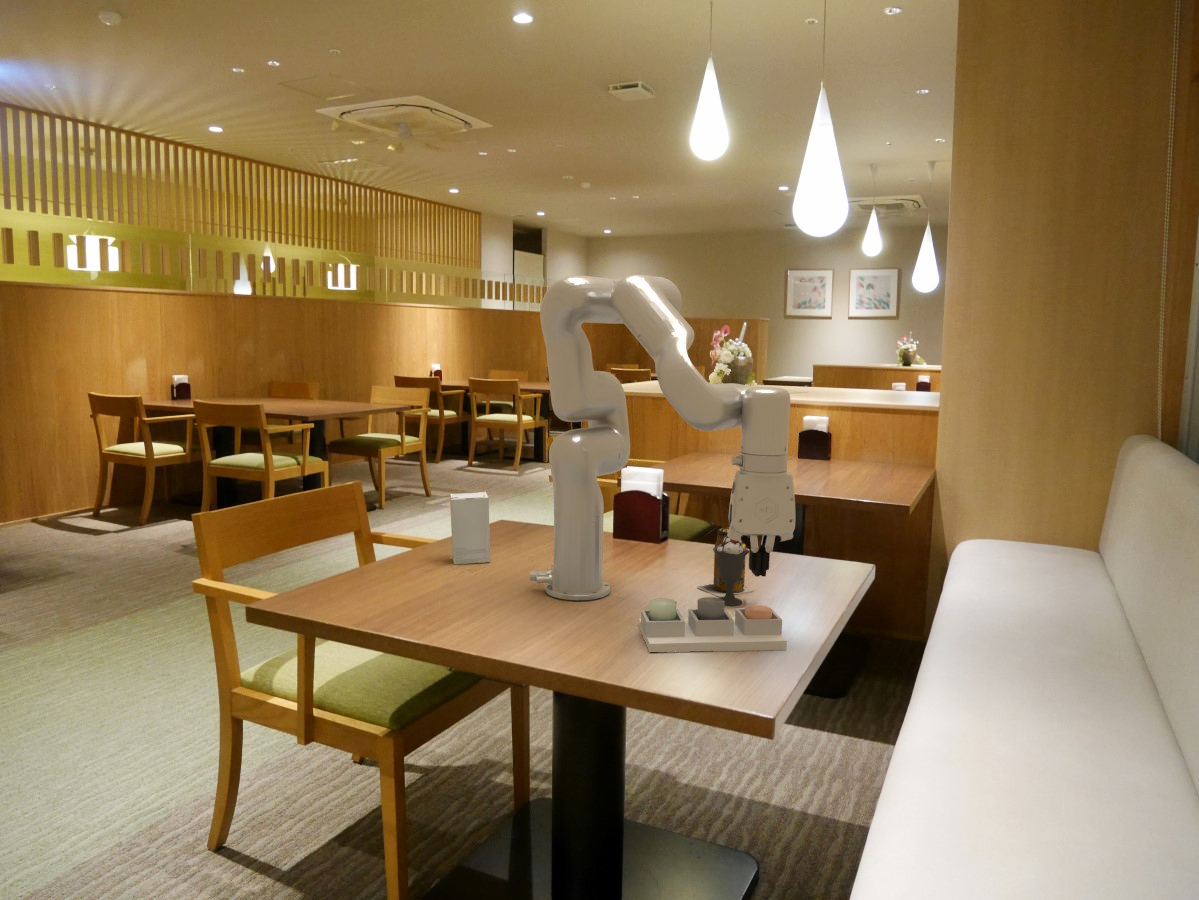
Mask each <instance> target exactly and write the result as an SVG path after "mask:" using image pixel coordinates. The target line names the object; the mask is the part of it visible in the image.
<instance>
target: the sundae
mask: <svg viewBox="0 0 1199 900" xmlns="http://www.w3.org/2000/svg"><path fill="white" fill-rule="evenodd" d="M712 551H713V553H714V554H715V553H716V554H717V559H718V569H719V575H720V578H721V579H722V581H724V582H725V583H726V585H727V592H726V595H725V596H723V597H718V598H719V599H722V600H724V601H725V606H726V607H738V606H741V605H742V604H743V600H742V599H741V598H738V597H736V596H735V594H733V585H734V584H735V583H736V582H738V581H739V579H740V578H741V575H742V571H743V564H744V559H745V560H746V556H747V555H749V550H748V548H747V547H746V548H744V547H743V545H742V543H741V542H740V541H736V540H732V539H730V538H729V537H728V536H727V535H725V536H724V539H723V542H722V544H721V545H720V546H716V547H715V546H714V547H713V548H712Z"/></svg>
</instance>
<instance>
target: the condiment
mask: <svg viewBox="0 0 1199 900" xmlns="http://www.w3.org/2000/svg"><path fill="white" fill-rule="evenodd" d="M728 530H729V527H721V528H718V529H717V537H716V541H715V544H714V547H716V546H720V545H721V544H722V542H723V539H724V536H725V535H727V534H728ZM741 543H742V545H743V547H744V548H746V549H747V546H746V545H745V544H744V543H743V542H741ZM713 555H714V557H713V558H714V563H713V583H710V584H706V585H699V586H697V588H698V589H700V590H702V591H705V592H706V593H709V594H710V595H714V596H717V597H718V598H722V597H725V595H726V592H727V585H726V583H725V582H724V581H722V579H721V578H720V575H719V569H718V559H717V554H716V553H715V552H714V554H713ZM745 574H746V558H745V559H744V564H743V571H742V575H741V578H740V579H739V581H738V582H736V583H735V584H734V585H733V594H734V595H740V594H745V593H746V594H747V593H750V592H753V591H754V589H750V588H748V587H747V588H746V587H745V577H746V575H745Z"/></svg>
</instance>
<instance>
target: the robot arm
mask: <svg viewBox="0 0 1199 900" xmlns="http://www.w3.org/2000/svg"><path fill="white" fill-rule="evenodd" d="M682 302H683V301H682V294H681V291H680V290H679V288H678V286H677V285H676V284H675V283H674V282H672V280H670V279H668V278H665V277H663V276H654V275H647V274H631V275H627V276H624V277H622V278H611V277H610V278H609V277H597V276H590V275H569V276H565V277H562V278H561V277H560V279H558V280H555V282H553V283H552V284H551V285H550V286H549V287H548V288H547V290H546V292H545V293H544V296H543V298H542V301H541V304H540V310H539V311H540V312H539V318H540V326H541V331H542V335H543V339H544V344H545V349H546V360H547V372H548V380H549V381H548V382H549V383H548V384H549V393H550V399H551V407H552V410H553V414H554V415H555V416H556V417H557V418H558V419H559V420H561V421H564V422H566V423H567V422H569V423H578V422H579V423H580V422H587V425H588V427H584V428H575V429H574V428H573V429H570V430H567V431H564V432H562V433H560V434H559V435H557V436H556V437H555V438H554V440H553V441H552V443H551V445H550V446H549V451H548V462H549V468H550V473H551V479H552V486H553V487H552V489H553V564H551V568H550V569H549V568H547V569H546V570H543V571H542V570H541V571H540V570H530V571H529V572H530V573H529V581H530V582H535V581H536V584H543V583H546V585H545V593H546V594H547V595H548V596H551V597H553V598H556V599H561V600H565V601H566V600H567V601H591V600H597V599H602V598H605V597H606V596H608V595H609V594H610V593H611V592H612V590H611V584H610V583H609V582H608V581H605V580H604V577H603V576H604V575H603V574H604V573H603V571H604V563H603V562H604V509H605V508H604V506H605V505H604V498H603V493H602V489H601V487H600V485H599V483H598V482H599V481H598V478H597V477H600V476H601V477H602V476H606V475H610V474H615V473H617V472H619V471H621V470H623V469H624V468H625V466H626V465H627V463H628V462H629V459H630V454H631V438H630V427H629V418H628V417H629V416H628V406H627V399H626V393H625V390H624V388H623V386H622V383H621V382H620V380H619V379H618V378H617V377H616V376H615V375H614V374H612V373H610V372H607V371H604V370H603V371H602V370H595V369H594V363H593V354H592V348H591V347H592V346H591V344H590V341H589V339H588V337H587V335H586V333H585V331H584V330H583V328H582V324H584V323H588V324H589V323H590V324H611V325H612V324H614V325H615V324H618V325H619V324H620V325H621V324H624V326H626V328H627V329H628V330H629V331H630V333H631V334H632V335H633V336H634V338H635V339H636V340H637V341H638V342H639V343H640V345H641V346H642V347H643V348H644V350H645V351H646V353H647V354H648V355H649V356H650V358H652V359H653V361H654V364H655V366H654V368H655V374H656V379H657V381H658V385H659V389H660V390H661V393H662V394H663V396H664V397H665V399H666V400H667V401H668V403H669V404H670V405H671V406H672V408H673V409H674V410H675V411H676V413H677V414H678V415H679V416H680V417H681V418H682V420H683V421H684V422H685V423H687V424H688V425H689V426H691V427H692V428H693V429H695V430H698V431H701V432H713V431H714V432H715V431H719V430H728V429H731V430H732V429H735V428H737V429H738V428H741V429H740V430H741V431H740V432H741V433H740V451H739V453H738V455H735V456H731V462H730V463H731V465H732V466H737V467H738V468H739V470H736V471H735V473H734V474H735V475H734V476H733V477H734V478H733V483H732V486H731V493H730V501H729V507H728V508H729V509H728V526H729V527H728V528H729V530H728V534H727V536H728V537H729V538H730V539H732V540H736V541H740V542H743V543H744V544H745V545H746V548H747V549H749V553H748V569H749V570H750V571H751V573H752V574H753V575H754V576H755V577H760V576H761V577H767V571H769V570H770V554H771V552H773V550H774V549H775V547H776V546H777V545H778V544H779V543H781V542H785V541H789V540H792V539H793V538H794V531H795V529H796V497H795V495H796V493H795V485H794V478H793V474H792V473H791V472H788V471H787V470H788V458H789V457H788V456H789V455H788V453H789V438H790V437H789V435H790V418H791V414H790V413H791V395H790V392H789V391H788V390H787V389H785V388H781V387H772V386H751V385H745V384H742V383H741V384H740V383H732V382H731V383H729V382H728V383H712V384H711V383H709V382H708V381H707V380H706V379H705V377H704V376H703V375H702V373H700V372H699V371H698V369H697V368H696V366H695V365H694V364H693V362H692V361H691V359H690V356H689V353H688V351H689V349H691V346H693V343H694V341H695V331H694V328H693V327H692V326H691V325H690V324H689V322H688V321H686V319H685V318H684V317H683V316H682V314H681V313H680V312H681V308H682V304H683V303H682ZM758 536H762V538H761V541H760V542H761V543H760V546H759V540H758Z"/></svg>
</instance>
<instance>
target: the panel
mask: <svg viewBox="0 0 1199 900" xmlns="http://www.w3.org/2000/svg"><path fill="white" fill-rule="evenodd" d="M770 608H771V609H772V619H746V617H745V607H741V608H740V607H739V608H738V607H737V608H734V616H731V615H730V614H729V612H728V611H727V610H726V608H724V620H698V619H697V608H688V614H687V615H688V617H683V615H682V614H681V612H680V611H679V609H677V608H676V621H650V620H649V609H641V610H640V618H638V628H639V631H640V633H641V635H643V636H642V638H643V640H645V641H644V643H645V642H646V643H645V645H647V646H646V648H647V647H648V648H647V650H648V649H649V650H648V653H649V652H667V653H686V652H685V651H713V652H744V651H745V652H750V651H751V652H753V651H758V650H759V651H786V650H787V643H788V642H787V640H786V638H785V637H784V636H783V634H782V633H783V632H782V631H783V619H782V618H781V617H780V616H779V615H778V614H777V613H776V611H775V610H774V608H772V607H770ZM675 651H676V652H675ZM679 651H680V652H679ZM682 651H683V652H682Z"/></svg>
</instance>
